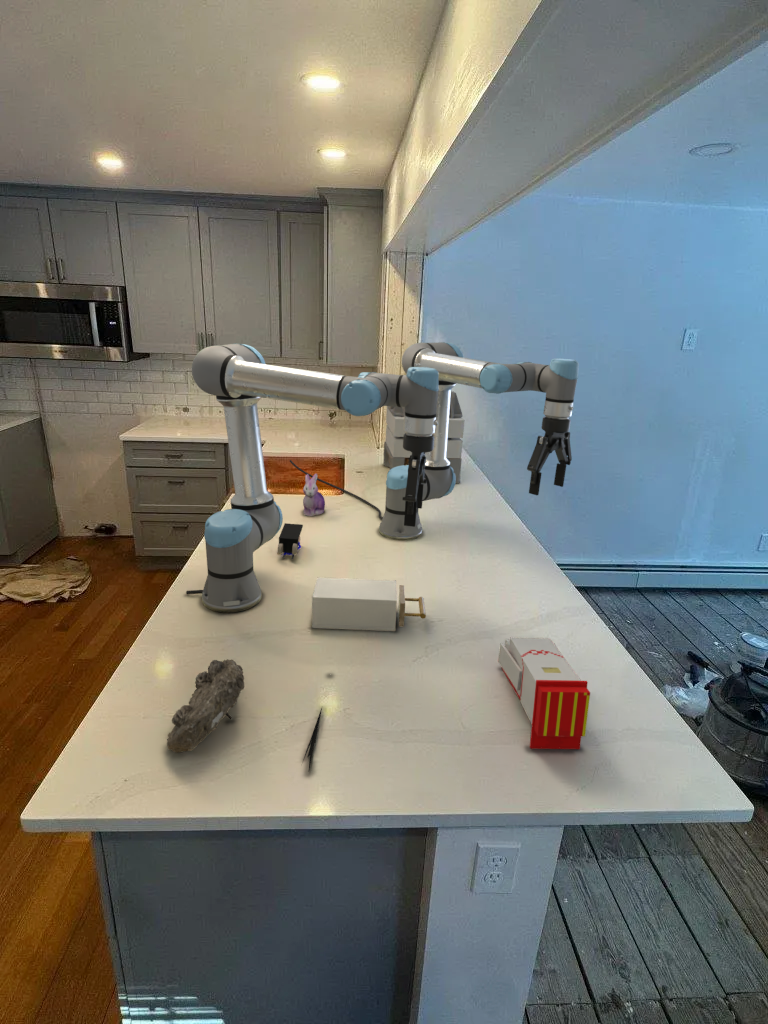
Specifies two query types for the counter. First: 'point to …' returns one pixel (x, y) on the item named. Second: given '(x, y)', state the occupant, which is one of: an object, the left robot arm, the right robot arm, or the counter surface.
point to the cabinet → (354, 604)
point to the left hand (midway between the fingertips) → (413, 516)
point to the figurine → (312, 497)
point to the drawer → (402, 606)
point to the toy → (546, 691)
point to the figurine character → (289, 540)
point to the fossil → (206, 705)
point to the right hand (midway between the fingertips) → (546, 489)
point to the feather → (313, 740)
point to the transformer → (395, 432)
